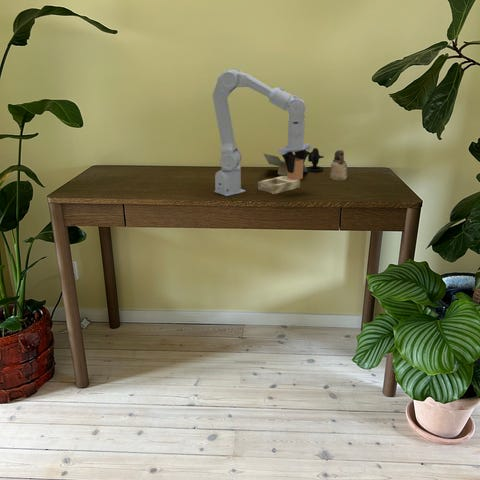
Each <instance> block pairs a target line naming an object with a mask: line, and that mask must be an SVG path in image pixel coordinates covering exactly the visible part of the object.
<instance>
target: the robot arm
mask: <svg viewBox="0 0 480 480" xmlns="http://www.w3.org/2000/svg"><path fill="white" fill-rule="evenodd" d="M236 88H249V89H252V90H253V91H256V92H258V93H259V94H262V95H263V96H265V97H267V98H268V101H269V103H271V104H272V105H274V106H276V107H277V108H279V109H281V110H283V111H284V112H286V111H287V112H288V115H289V116H288V127H287V129H288V130H287V145H286V146H283V147H280V148H278V154H279V155H281V156H282V158H283V161H285V163H286V166H287V171H288V172H289V173H293V170H294V162H295V158H299V159H303V160H304V161H303V165H305V161H306V159H307V158H308V154H309V151H310V150H311V151H312V144H311V143H305V125H306V124H305V122H306V121H305V119H306V118H305V117H306V116H305V115H306V114H305V113H306V112H305V111H306V109H307V108H306V107H307V106H306V102H305V100H303V99H302V98H301V97H297V95H296V94H291V93H289V92H287V91H285V88H283V87H278V86H276V87H274V88H272V87H270V86H268V85H267V84H265V83H264V82H262V81H260V80H259V79H257V78H255V77H254V76H252V75H250V74H248V73H246V72H244V71H240V70H238V69H237V68H231V69H226V70H224V71H223V72H221V74H220V75H219V76H218V77H217V80H216V84H215V87H214V90H213V92H212V99H213V106H214V110H215V116H216V122H217V128H218V131H219V136H220V137H219V139H220V144H221V147H220V159H219V162H220V166H221V169H220V170H217V172H215V174H214V182H215V183H214V185H215V187H214V189H215V190H213V192H214V193H216V194H220V195H222V196H224V197H229V196H233V195H236V194H237V195H238V194H241V193H242V194H243V193H245V192H246V190H245V189H242V180H241V179H242V177H241V176H242V170H241V169H242V167H241V166H240V163H241V161H242V153H241V152H240V151H239V149H238V145H237V142H236V141H235V140H236V139H235V136H234V129H233V123H232V118H231V112H230V108H229V107H230V106H229V101H228V98H229V96H230V95H231V94H232V93H233V91H234V90H235V89H236Z"/></svg>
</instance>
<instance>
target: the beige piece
mask: <svg viewBox="0 0 480 480" xmlns="http://www.w3.org/2000/svg"><path fill="white" fill-rule="evenodd" d="M299 188H301V179H299V180H292V179H288V178H287V176H277V177H273V178H269V179H268V178H267V179H264V180H258V181H257V190H259V191H263V192H266V193H269V194H272V195H275V194H279V193H283V192H287V191H291V190H295V189H299Z"/></svg>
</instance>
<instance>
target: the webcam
mask: <svg viewBox="0 0 480 480" xmlns="http://www.w3.org/2000/svg"><path fill="white" fill-rule="evenodd" d="M324 158H325V156H323V155H320V152H319V149H318V148H316V147H314V148H313V149H312V150H311V151H310V152H309V154H308V156H307V159H308V162H311V164H312V165H311V166H307V167H306V169H307V171H308V173H322V172H323V171H324V168H323V167H321V166H320V165H319V166H318V164H319V162H320V159H324Z"/></svg>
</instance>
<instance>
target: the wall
mask: <svg viewBox="0 0 480 480" xmlns="http://www.w3.org/2000/svg"><path fill="white" fill-rule="evenodd" d="M263 156H264V158H265V159H266V162H267V163H268V164H269V165H273V166H275V167H276V166H277V167H278V171H277V175H278V177H281V176H287V166H286V163H285V160H281V159H280V157H279V156H277V155H272V154H267V153H263ZM306 168H307V167H306V165H305V164H304V165H303V173H308V174H309V172H308V171H307V169H306Z"/></svg>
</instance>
